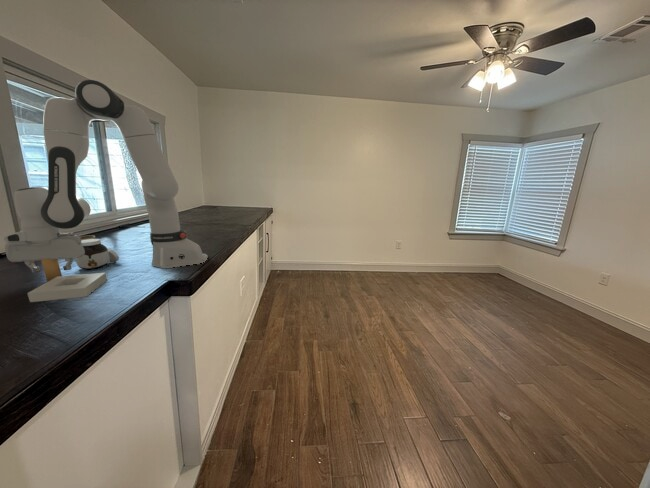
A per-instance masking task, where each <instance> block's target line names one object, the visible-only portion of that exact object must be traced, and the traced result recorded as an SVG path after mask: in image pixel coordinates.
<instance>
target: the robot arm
mask: <svg viewBox="0 0 650 488" xmlns="http://www.w3.org/2000/svg"><path fill="white" fill-rule="evenodd" d="M74 95H75V97H73V98H66V97H59V96H58V97H57V96H56V97H50V98H48V99H47V100H46V102H45V106H44V111H43V118H42V121H43V124H42V125H43V128H42V129H43V137H44V145H45V148H46V155H47V163H48V167H47V168H48V174H47V175H48V185H47V186H48V187H47V186H46V187H45V186H42V185H41V186H40V185H39V186H31V187H25V188H19V189H17V190H16V191H14V194H13V202H14V207H15V211H16V215H17V216H18V217H19V219H20V228H21V230H19V231H16V232H14V233H10V234H7V235H4V236H3V240H4V242H6V244H5V245H4V250H5V254H6V258H7V260H8V261H10V262H11V263H18V262H21V263H22V262H24V265H25V266H27V267H28V268H29V269H30V270H31V273H32V274H33V273H34V274H35V273H40V272H41V266H39V265H38V266H37V265H36V264H35V262H37V261H41V260H42V259H43V258H48V259H50V260H53V259H58V260H64V261H65V262H66V263H65V264H64V265H63V266H62V267H63V271H70V270H72V263H73V262H74V259H75V258H80V257H82V256H83V255H84V254H85V250H84V248H83V245H82V243H81V237H80V236H81V235H79V234H77V233H75V232H61V230H62V229H64V230H66V229H67V230H69V229H73V228H76V227H78V226H79V225H80V224H81V223H82V222H83V221H84V220H86V219H87V218H88V216H89V215H90V214H91V206H90V204H89V203H88V201H86V200H85V199H84V198H83V197H82V198H81V197H79V196H77V171H78V169H79V166H80V165H81V163H83V162H84V161H85V160H86V158H87V157H88V153H89V150H90V149H89V148H90V124H91V123H106V122H112V123H114V124H115V125H116V127H117V128H118V130H119V132H120V134H121V137H122V140H123V142H124V144H125V147H126V149H127V151H128V153H129V154H128V155H130V158H131V160H132V162H133V163H134V166H135V167H136V170H137V171H138V173H139V174H138V175H139V176H140V178H141V188H142V189H141V190H142V193H143V198H144V202H145V203H144V204H145V207H146V210H147V216H148V222H149V227H150V233H149V237H150V243H151V246H152V261H151V266H153V267H155V268H156V267H157V268H160V269H162V270H163V269H164V270H165V269H166V268H167V269H173V267H175V268H180V266H182V267H187V266H186V265H190V266H194V265H193V264H197V265H201V264H200V263H202V264H204V263H206V262H207V261H208V259H209V258H208V257H209V256H208V254H207V253H203V251H202V249H201V246H200V245H199V244H198V243H196V242H194V241H192V240H190V239H188V237H187V231H186V230H182V229H181V224H180V217H179V211H178V209H177V206H176V201H175V197H176V196H177V195H178V193H179V184H178V182H177V180H176V178H175V175H174V174H173V173H174V172H173V171H172V169H171V166H170V165H169V163H168V161H167V159H166V158H165V157H166V156H165V155H164V153H163V150H162V147H161V144H160V142H159V140H158V137H157V134H156V132H155V129H154V127H153V124H152V123H151V121H150V119H149V117H148V116H147V114H146V112H145V111H144V109H143V108H141V107H140V106H137V105H134V104H125V103H124V101H123V100H122V98H120V97H119V96H118V95H117V94H116V93H115V92H114V90H112V89H111V88H110V87H109V86H107V85H106V84H104V83H103V82H100V81H98V80H94V79H85V80H82V81H80V82H78V84H76V87H75V89H74ZM60 229H61V230H60ZM207 258H208V259H207ZM206 260H207V261H206ZM205 261H206V262H205ZM203 262H204V263H203Z"/></svg>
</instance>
